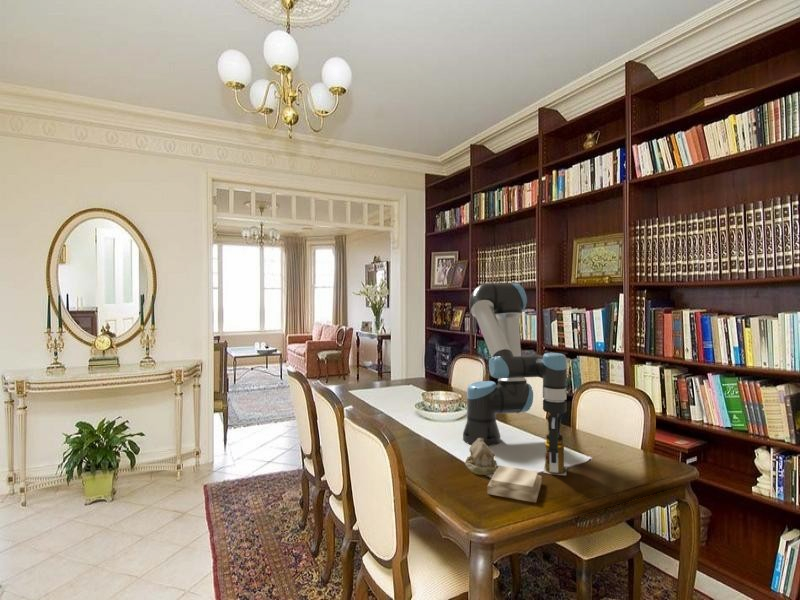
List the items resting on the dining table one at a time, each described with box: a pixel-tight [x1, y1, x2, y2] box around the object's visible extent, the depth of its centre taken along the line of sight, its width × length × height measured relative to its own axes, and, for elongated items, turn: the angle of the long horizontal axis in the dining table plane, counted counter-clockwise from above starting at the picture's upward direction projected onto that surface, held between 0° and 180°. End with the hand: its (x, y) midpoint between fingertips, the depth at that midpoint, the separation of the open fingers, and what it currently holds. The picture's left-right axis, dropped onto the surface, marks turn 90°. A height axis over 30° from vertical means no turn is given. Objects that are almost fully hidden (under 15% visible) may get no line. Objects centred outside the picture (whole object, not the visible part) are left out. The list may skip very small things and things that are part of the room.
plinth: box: [486, 465, 542, 503], centre depth 134 cm, size 14×14×4 cm
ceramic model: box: [464, 438, 497, 476], centre depth 151 cm, size 14×11×10 cm
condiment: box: [542, 433, 568, 477], centre depth 148 cm, size 7×8×12 cm
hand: (554, 467), depth 147 cm, fingers closed on condiment, 6 cm apart
